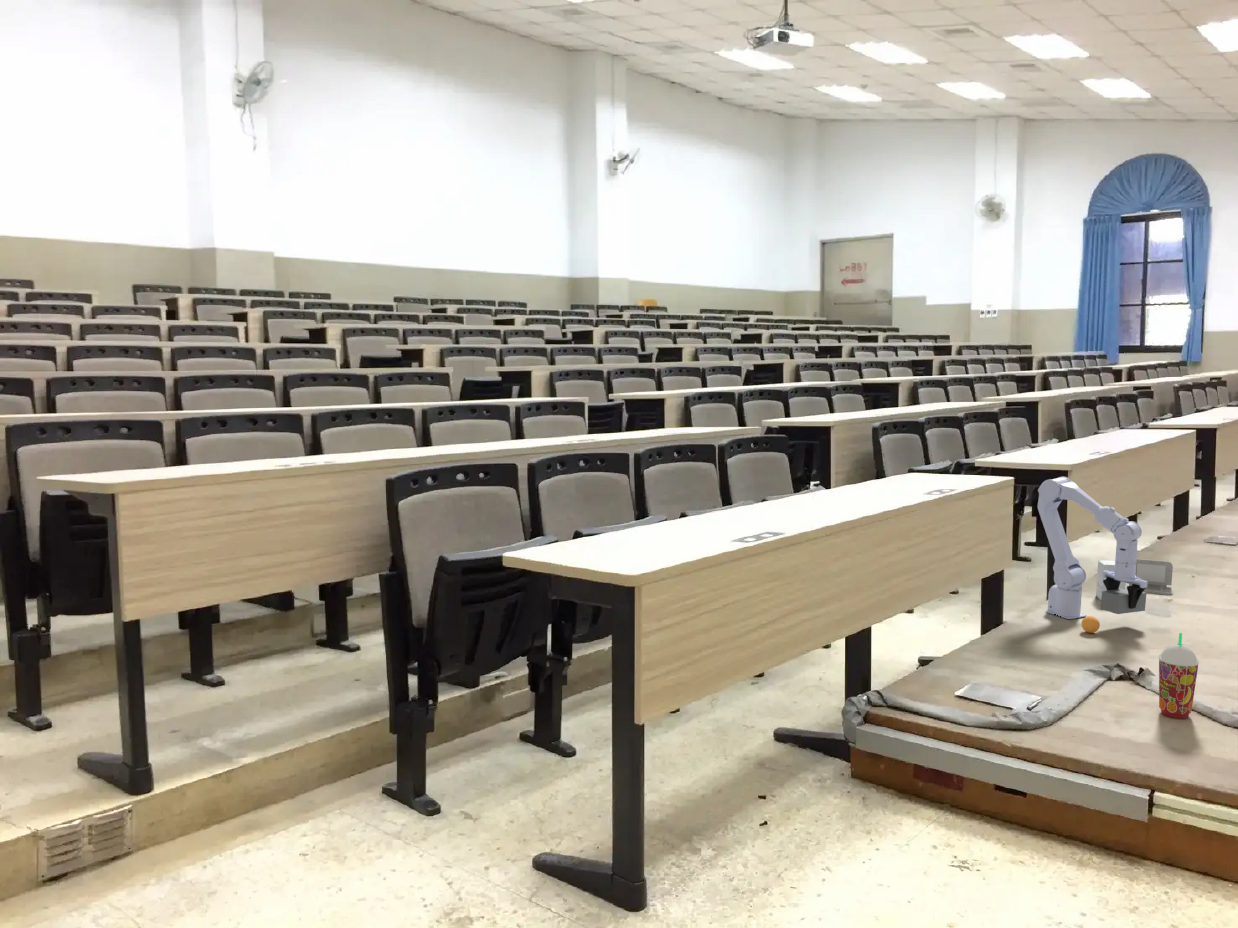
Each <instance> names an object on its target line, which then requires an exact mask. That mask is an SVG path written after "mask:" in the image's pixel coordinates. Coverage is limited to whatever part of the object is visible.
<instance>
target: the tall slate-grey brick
mask: <svg viewBox="0 0 1238 928" xmlns="http://www.w3.org/2000/svg"><path fill="white" fill-rule="evenodd" d="M1147 594H1148V593H1145V592H1143V593H1142V594H1141V596H1140V598H1139V600H1138V602H1137V605H1136V608H1133V609H1130V608H1129V605H1128V604H1129V595H1128V590H1127V587H1125V589H1116V590H1107V591H1102V597H1101V600H1100V610H1103V611H1106V612H1109V613H1112V614H1115V615H1120V614H1121V615H1122V614H1123V615H1124V614H1129V613H1137V612H1138V613H1139V612H1145V611H1146V600H1147Z"/></svg>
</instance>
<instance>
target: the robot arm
mask: <svg viewBox="0 0 1238 928" xmlns="http://www.w3.org/2000/svg"><path fill="white" fill-rule="evenodd" d="M1037 492H1038V502H1037V510H1038V513H1039V516H1040V520H1041V522H1042V525H1043V528H1044V530H1045V534H1046V537H1047V539H1048V543H1049V546H1050V549H1051V552H1052V555H1053V557H1054V563H1053V566H1052V570H1053V572H1054V573H1053V582H1054V585H1052V586H1051V587H1050V588H1049V591H1048V597H1047V598H1048V599H1047V610H1045V612H1046V613H1047V614H1051V615H1054V614H1056V615H1055V616H1057V615H1058V617H1060V616H1061V617H1060V618H1062V619H1063V618H1064V619H1067V620H1073V619H1078V618H1085V617H1087V616H1088V615H1087V614H1086V613H1085V614H1084V613H1082V612H1081V610H1082V591H1083V587H1082V584H1083V583H1085V581H1086V580H1087V572H1086V570H1085V569H1084V568H1083V567H1082V566H1081V564H1080V560H1079V559H1077V558H1076V557H1075V556H1074V554H1073V552H1072V550H1071V547H1070V543H1069V541H1068V537H1067V535H1066V532H1065V528H1064V525H1063V523H1062V520H1061V517H1060V513H1059V511H1058V508H1059V506H1060V504H1061V503H1062V501H1063V500H1065V501H1066V500H1067V501H1068V500H1070V501H1073V502H1074V503H1076V504H1078V505H1079V506H1080V507H1082V508H1083V509H1085V510H1086V511H1088V512H1090V513H1092V514H1093V516H1094V519H1095V521H1096V522H1097V523H1098V524H1100V525H1101V526H1102V527H1104V529H1107V530H1108V531H1109V532H1110V533H1111V534H1113V538H1114V539H1115V541H1116V547H1115V558H1114V561H1115V572H1112V571H1108V570H1106V571H1102V577H1104V578H1106V580H1103V583H1104V585H1105V587H1106V589H1107V590H1116V589H1119V585H1120V583H1121V582H1125V583H1126V584H1128V585H1127V586H1126V588H1127V590H1128V595H1129V604H1128V605H1129V608H1130V609H1133V608H1136V605H1137V602H1138V600H1139V598H1140V596H1141V594H1142V593H1143V591H1144V590H1145V588H1147V584H1148V581H1145V580H1142V579H1140V578H1138V577H1136V575H1135V572H1136V559H1138V558H1137V557H1138V555H1137V554H1138V542H1139V541H1138V540H1139V539H1140V538H1141V536H1142V528H1141V526H1140V525H1139V524H1138V523H1137V522H1136V521H1129V518H1127V517H1124V516H1123V515H1121V514H1120V513H1118V512H1117V511H1116V508H1115V507H1113V506H1111V507H1110V506H1108V505H1107V506H1102V505H1101V504H1100V503H1099V502H1097V501H1096V500H1095V499H1094V498H1093V497H1091V496H1090V495H1089V494H1087V492H1085V491H1084V490H1082V488H1080V487H1079V486H1078V485H1077V483H1076V482H1074V481H1072V480H1070V479H1069V478H1068V477H1067V476H1059V477H1057V478H1053V479H1051V478H1049V479H1046V480H1044V481H1043V482H1042V483H1041V484H1040V486H1039V488H1038V489H1037ZM1129 584H1132V586H1129Z"/></svg>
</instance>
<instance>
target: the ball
mask: <svg viewBox="0 0 1238 928" xmlns="http://www.w3.org/2000/svg"><path fill="white" fill-rule="evenodd" d="M1080 625H1081V628H1082V629H1083V631H1085V632H1086V633H1090V634H1094V633H1096V632H1097V631H1099V629H1100V625H1101V624H1100V621H1099V620H1098V618H1096V617H1095V616H1091V615H1087V616H1086V617H1083V618H1082V620H1081V623H1080Z"/></svg>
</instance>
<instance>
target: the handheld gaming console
mask: <svg viewBox="0 0 1238 928" xmlns="http://www.w3.org/2000/svg"><path fill="white" fill-rule="evenodd" d="M1173 568H1174V567H1173V563H1172V562H1171V561H1169V560H1167V561H1166V560H1159V559H1158V560H1156V559H1145V558H1143V559H1142V558H1137V559H1136V572H1135V575H1136V577H1138V578H1140V579H1142V580H1145V581H1148V584H1147V588H1145V590H1144V591H1143V592H1145V593H1147V594H1153V595H1155V594H1157V595H1166V596H1171V595H1173V591H1172V584H1173V583H1172V582H1173ZM1128 586H1132V584H1128Z"/></svg>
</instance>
